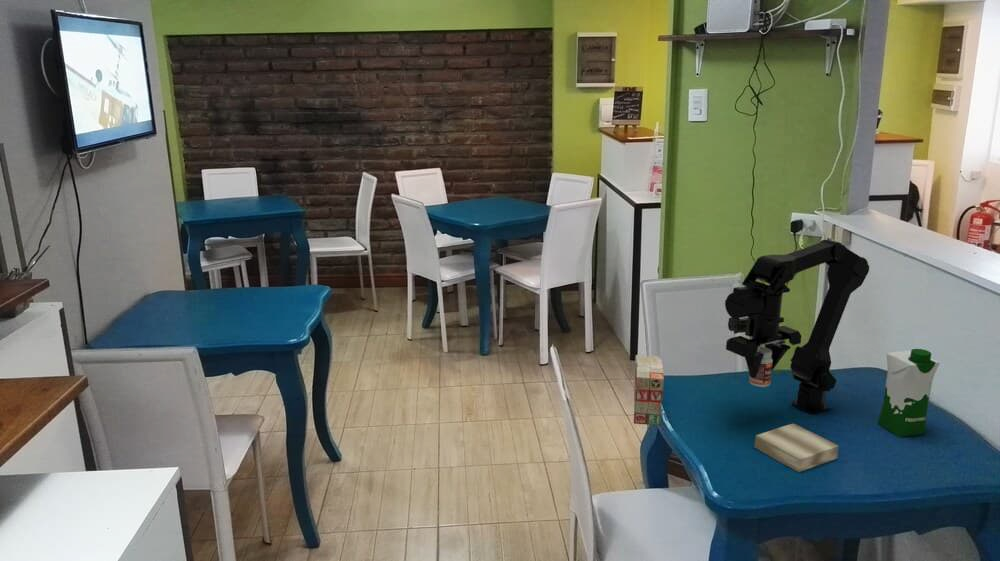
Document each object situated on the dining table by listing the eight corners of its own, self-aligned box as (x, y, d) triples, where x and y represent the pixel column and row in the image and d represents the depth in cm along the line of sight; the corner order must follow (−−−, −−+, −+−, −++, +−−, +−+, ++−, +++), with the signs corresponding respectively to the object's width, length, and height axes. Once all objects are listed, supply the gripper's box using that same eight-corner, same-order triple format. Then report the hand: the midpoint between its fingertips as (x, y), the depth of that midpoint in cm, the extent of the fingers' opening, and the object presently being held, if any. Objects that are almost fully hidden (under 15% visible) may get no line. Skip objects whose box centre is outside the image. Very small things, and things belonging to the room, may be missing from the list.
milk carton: (898, 439, 170) (912, 357, 164) (870, 421, 178) (883, 343, 173) (931, 435, 172) (946, 354, 166) (902, 418, 180) (915, 340, 175)
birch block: (791, 435, 172) (793, 423, 171) (837, 458, 162) (838, 445, 161) (754, 447, 166) (755, 435, 166) (798, 472, 156) (800, 459, 155)
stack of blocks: (633, 387, 198) (636, 343, 194) (658, 389, 196) (661, 345, 193) (633, 424, 177) (636, 376, 174) (660, 426, 176) (664, 378, 173)
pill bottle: (767, 389, 173) (771, 355, 170) (746, 384, 175) (749, 351, 173) (772, 381, 177) (776, 348, 174) (751, 377, 179) (755, 344, 177)
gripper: (768, 296, 182) (761, 356, 186) (711, 308, 173) (705, 370, 178) (806, 309, 173) (798, 372, 177) (748, 322, 164) (741, 388, 168)
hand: (760, 375), depth 175 cm, fingers closed on pill bottle, 5 cm apart
